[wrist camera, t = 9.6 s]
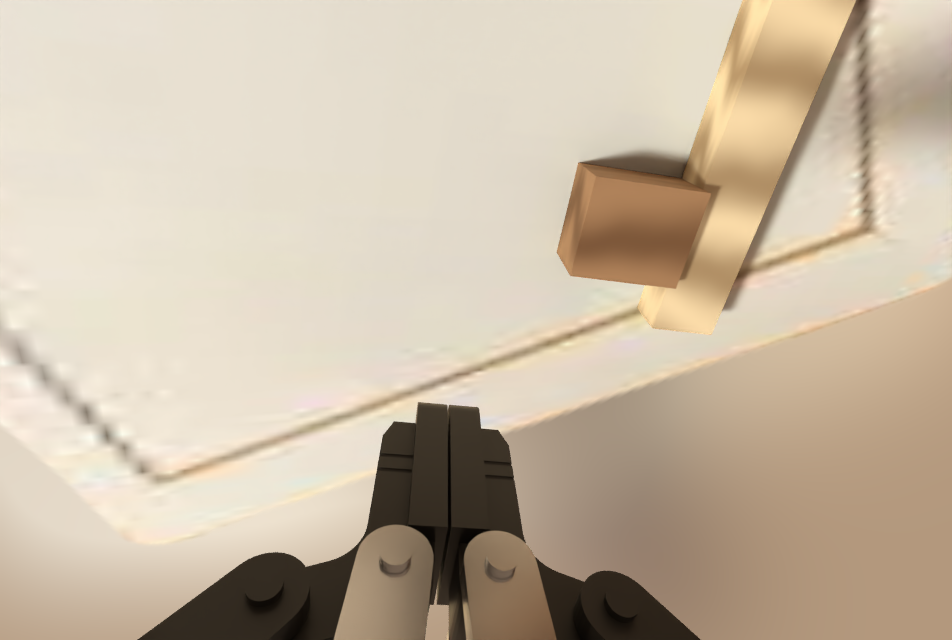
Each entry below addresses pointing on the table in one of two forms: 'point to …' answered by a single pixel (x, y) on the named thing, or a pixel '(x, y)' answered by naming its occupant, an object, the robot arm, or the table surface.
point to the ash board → (746, 146)
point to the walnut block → (630, 226)
